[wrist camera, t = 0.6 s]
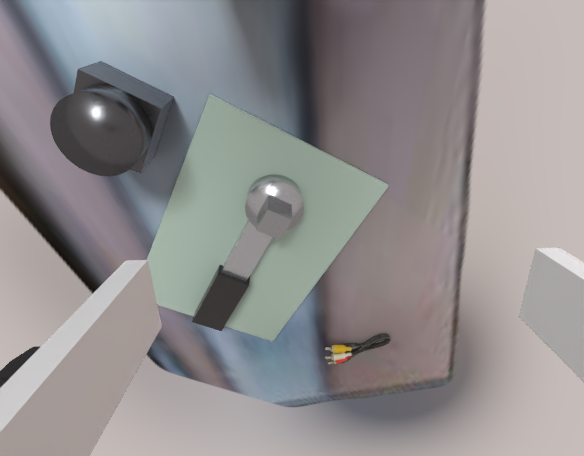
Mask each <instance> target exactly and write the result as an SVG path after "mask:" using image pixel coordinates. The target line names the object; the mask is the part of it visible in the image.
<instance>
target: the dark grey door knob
mask: <svg viewBox="0 0 584 456" xmlns="http://www.w3.org/2000/svg"><path fill="white" fill-rule="evenodd" d="M173 98H174V97H173V96H171V95H169V94H167V93H165V92H163V91H161V90H159V89H156V88H154V87H152V86H150V85H148V84H146V83H144V82H142V81H140V80H138V79H136V78H134V77H132V76H130V75H128V74H126V73H124V72H122V71H120V70H118V69H116V68H114V67H112V66H110V65H108V64H106V63H104V62H101V61H100V62H97V63H94V64H91V65H88V66H85V67H83V68H80V69H78V72H77V78H76V84H75V89H74V93H73V94H71V95H69V96H67V97H65V98H63V99H62V100H60V101H59V102H58V103H57V104H56V106H55V107H54V109H53V111H52V114H51V120H50V125H51V132H52V135H53V138H54V141H55V143H56V145H57V146H58V148H59V149H60V151H61V152H62V153H63V154H64V155H65V156H66V158H67V159H69V160H70V161H71V162H72V163H73V164H75V165H76V166H78V167H79V168H81V169H83V170H85V171H87V172H90V173H92V174H96V175H101V176H115V175H119V174H122V173H124V172H126V171H127V170H129V169H132V170H135V171H137V172H139V173H141V172H142V171H143V170H144V169H145V167H146V166H147V165H148V164H149V162H150V161H151V160H152V159H153V158H154V156H155V153H156V150H157V147H158V144H159V141H160V138H161V135H162V132H163V129H164V126H165V123H166V119H167V116H168V113H169V110H170V107H171V104H172V101H173ZM146 113H147V114H146Z"/></svg>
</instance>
